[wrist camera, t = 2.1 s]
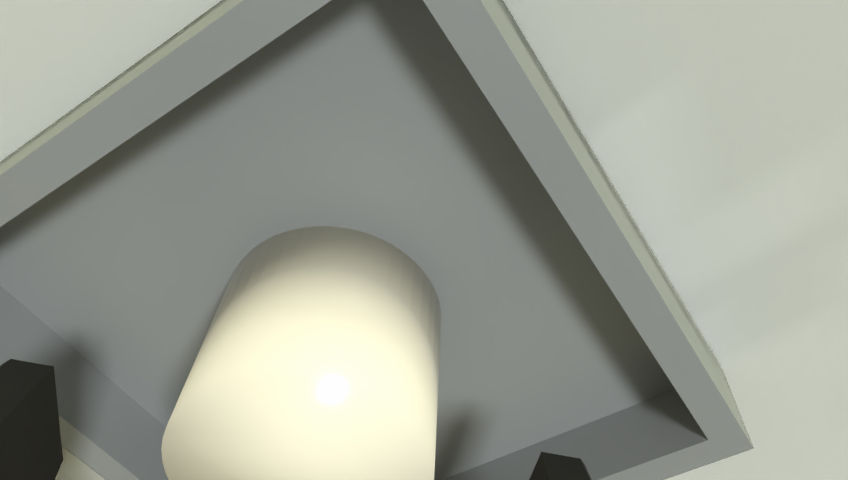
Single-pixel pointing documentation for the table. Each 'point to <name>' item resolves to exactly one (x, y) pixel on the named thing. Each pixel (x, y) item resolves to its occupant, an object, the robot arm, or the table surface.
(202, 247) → the tray
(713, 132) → the table surface
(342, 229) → the cream round lump
